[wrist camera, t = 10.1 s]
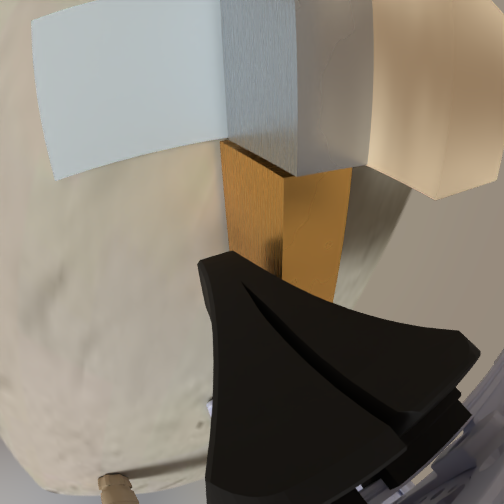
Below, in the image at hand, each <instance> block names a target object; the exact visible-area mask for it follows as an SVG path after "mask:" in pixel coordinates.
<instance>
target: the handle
mask: <svg viewBox="0 0 504 504" xmlns="http://www.w3.org/2000/svg"><path fill="white" fill-rule="evenodd" d="M98 486H99V490H102V493H101V500H102V504H139V501H138V499H137V497H136V495H135V493H134V491H132V490H131V489H130V488H132V485H131V483H130V481H129V479H128V478H127V477H125V476H122V475H121V474H115V475H104V476H103V477H100V478H99V479H98Z"/></svg>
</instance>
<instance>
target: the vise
mask: <svg viewBox="0 0 504 504" xmlns="http://www.w3.org/2000/svg"><path fill="white" fill-rule="evenodd" d="M31 26H32V51H33V64H34V75H35V83H36V91H37V98H38V105H39V111H40V117H41V122H42V127H43V132H44V137H45V142H46V146H47V150H48V155H49V159H50V163H51V167H52V170H53V174H54V178H55V181H57V180H60V179H63V178H66V177H69V176H72V175H75V174H78V173H81V172H84V171H87V170H90V169H94V168H97V167H100V166H104V165H107V164H111V163H114V162H118V161H121V160H125V159H129V158H133V157H136V156H140V155H144V154H149V153H153V152H157V151H161V150H166V149H170V148H175V147H180V146H184V145H189V144H194V143H200V142H205V141H211V140H216V139H222V138H228V129H227V114H226V98H225V82H224V66H223V48H222V29H221V10H220V0H97V1H92V2H88V3H84V4H81V5H77V6H73V7H70V8H67V9H63V10H60V11H57V12H54V13H51V14H48V15H45V16H43V17H40V18H37V19H35V20H32V21H31Z"/></svg>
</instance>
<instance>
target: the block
mask: <svg viewBox="0 0 504 504" xmlns="http://www.w3.org/2000/svg"><path fill="white" fill-rule="evenodd" d="M372 8H373V35H374V72H373V100H372V118H371V131H370V143H369V153H368V163H367V165H366V166H368V167H371V168H373V169H375V170H377V171H379V172H381V173H383V174H385V175H387V176H389V177H391V178H393V179H395V180H397V181H399V182H401V183H403V184H405V185H407V186H409V187H411V188H413V189H415V190H417V191H419V192H420V193H422V194H424V195H426V196H428V197H429V198H431V199H433V200H435V201H436V200H439V199H442V198H445V197H448V196H451V195H454V194H457V193H460V192H463V191H466V190H469V189H472V188H475V187H478V186H481V185H484V184H487V183H490V182H493V181H496V180H497V177H498V172H499V168H500V164H501V159H502V153H503V148H504V14H503V13H502V12H501V10H500V9H499V8H498V7H497V6H496V5H495V4H494V3H493V2H492V1H491V0H372Z"/></svg>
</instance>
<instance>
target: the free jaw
mask: <svg viewBox="0 0 504 504" xmlns="http://www.w3.org/2000/svg"><path fill="white" fill-rule="evenodd" d="M220 10H221V29H222V48H223V66H224V82H225V98H226V114H227V129H228V140H224V141H220V150H221V162H222V174H223V186H224V197H225V208H226V218H227V229H228V239H229V249H230V251H232V250H233V251H235V252H236V253H238V254H240V255H241V256H243V257H245V258H246V259H248V260H249V261H251V262H253V263H254V264H256V265H258V266H259V267H261V268H263V269H264V270H266V271H268V272H270V273H271V274H273V275H275V276H277V277H279V278H280V279H282V280H284V281H286V282H288V283H290V284H292V285H294V286H296V287H298V288H300V289H302V290H304V291H306V292H308V293H310V294H312V295H315V296H317V297H319V298H322V299H324V300H326V301H329V302H332V303H333V298H334V293H335V287H336V282H337V276H338V271H339V265H340V259H341V253H342V246H343V240H344V233H345V226H346V218H347V211H348V203H349V194H350V185H351V176H352V167H357V166H364V165H367V163H368V153H369V143H370V131H371V118H372V100H373V72H374V35H373V8H372V0H220Z"/></svg>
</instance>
